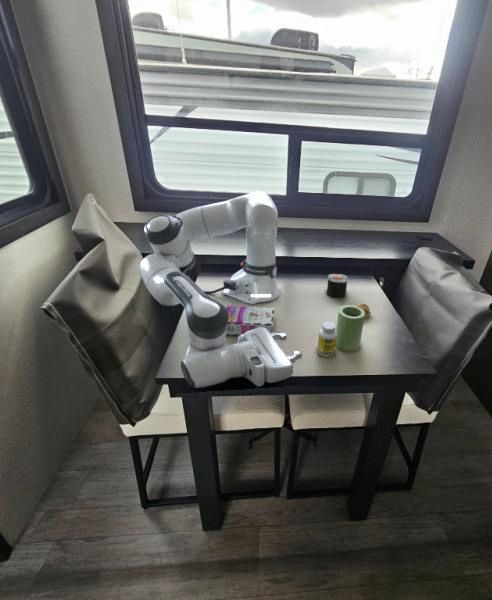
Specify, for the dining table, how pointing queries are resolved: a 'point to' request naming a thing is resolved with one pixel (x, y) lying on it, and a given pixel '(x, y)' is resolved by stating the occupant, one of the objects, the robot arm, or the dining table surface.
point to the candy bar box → (249, 319)
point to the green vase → (349, 327)
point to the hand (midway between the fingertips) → (292, 344)
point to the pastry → (365, 308)
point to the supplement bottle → (327, 339)
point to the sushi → (337, 285)
